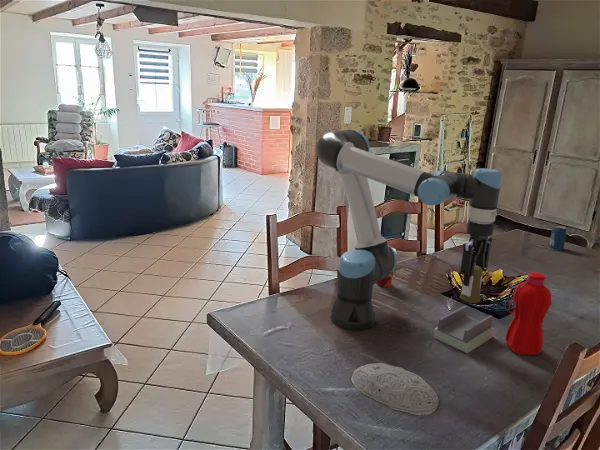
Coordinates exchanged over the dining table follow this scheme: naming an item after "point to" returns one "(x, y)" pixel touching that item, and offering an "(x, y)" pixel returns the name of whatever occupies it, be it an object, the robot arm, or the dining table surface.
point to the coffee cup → (386, 281)
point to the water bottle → (529, 315)
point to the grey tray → (463, 330)
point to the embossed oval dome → (395, 388)
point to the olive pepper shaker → (474, 286)
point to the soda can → (558, 237)
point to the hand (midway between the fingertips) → (470, 292)
